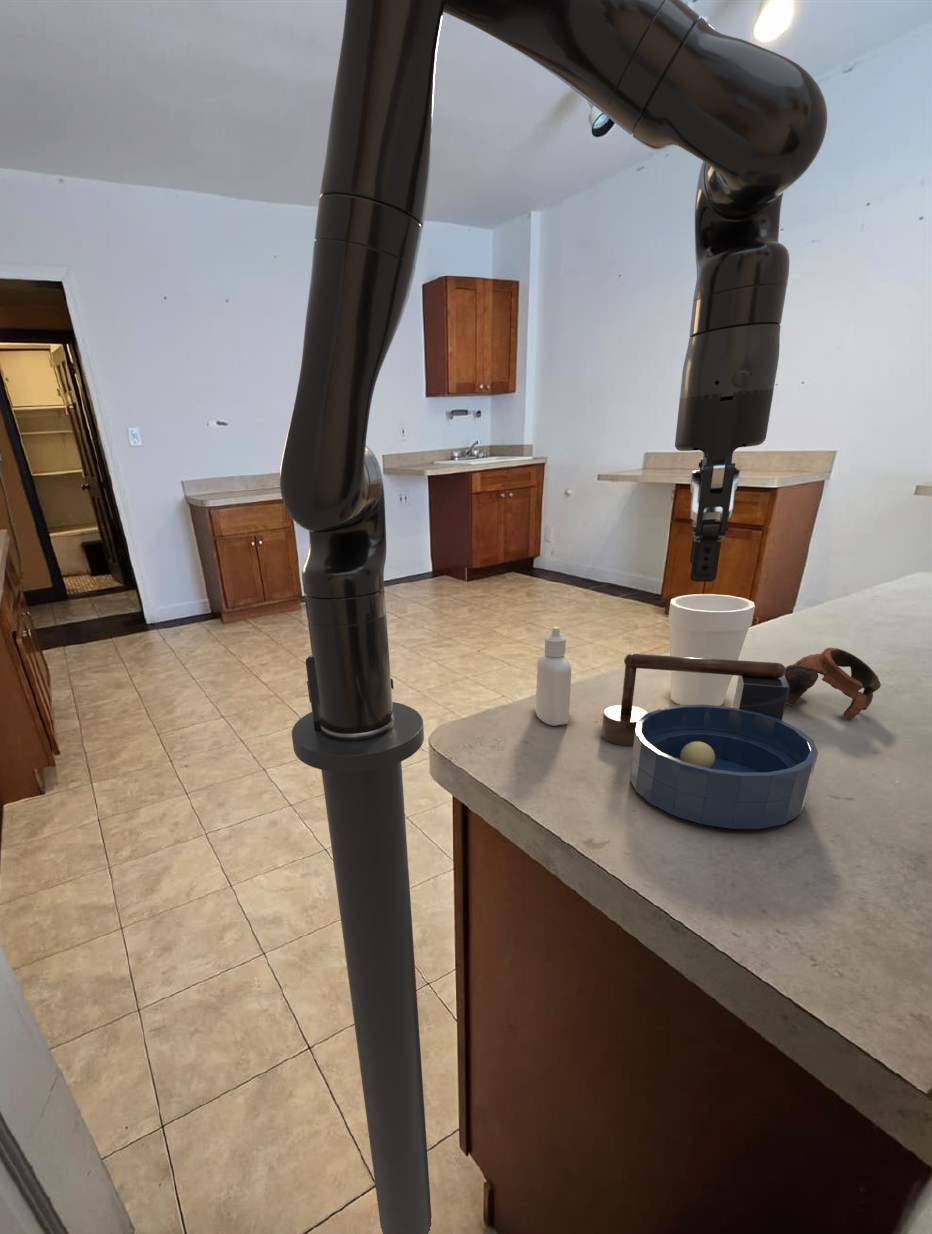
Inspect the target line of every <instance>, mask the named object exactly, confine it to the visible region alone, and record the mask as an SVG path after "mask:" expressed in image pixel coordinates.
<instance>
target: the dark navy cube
mask: <svg viewBox="0 0 932 1234" xmlns="http://www.w3.org/2000/svg"><path fill="white" fill-rule="evenodd" d="M736 683H737V684H736V688H735V689H736V690H735V694H734V699H733V705H732V707H733V708H738V709H743V710H748V711H753V712H758V713H761V714H764V715H767V716H770V717H774V718H777V719H780V720H782V721H783V718H784V714H785V710H786V705H787V704H786V701H787V696H788V692H789V685H788V683H787V680H786V678H785V675H783V676H782V677H780V678H764V677H750V676H738V678H737V682H736Z"/></svg>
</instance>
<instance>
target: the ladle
mask: <svg viewBox="0 0 932 1234" xmlns="http://www.w3.org/2000/svg"><path fill="white" fill-rule="evenodd" d="M623 663H624V665H625V666H624V676H623V686H622V695H621V696H622V697H621V704H619V705H618V704H617V705H612V706H608V707H606V708H604V710H603V713H602V725H601V737H602V739H604V740H605V741H607V742H608V743H611V744H614V745H618V746H624V747H625V746H626V747H627V746H633V744H634V735H635V728H636V723H637V721H638V720H639V719H641V718H642V717H643V716H644V715H645V714H647V713H649V712H648V711H646V710H645V709H643V708H641V707H638V706H634V705H633V704H634V695H635V686H636V679H637V678H636V677H637V669H642V670H656V671H669V672H670V671H682V672H695V673H709V674H723V675H732V676H738V677H739V676H750V677H764V678H780V677H782V676H783V675H784V674H785V672H786V669H785V667H786V666H785V665H784V664H783V663H780V662H771V661H770V662H769V661H755V660H753V661H752V660H740V659H738V660H725V659H709V658H693V657H678V656H670V655H662V654H644V653H628V654H627V655H625V657H624V659H623Z"/></svg>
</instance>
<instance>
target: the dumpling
mask: <svg viewBox="0 0 932 1234" xmlns="http://www.w3.org/2000/svg"><path fill="white" fill-rule="evenodd" d="M680 760H681V761H684V762H687V763H691V764H695V765H699V766H703V767H707V768H711V767H712V766H713V764H714V762H715V753H714V751H713V749H712V748H711V747H710V746H709V745H708V744H706V743H704V742H699V741H695V742H691V743H688V744H687V745H685V746H684V747H683V749H682V750H681V753H680Z"/></svg>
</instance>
